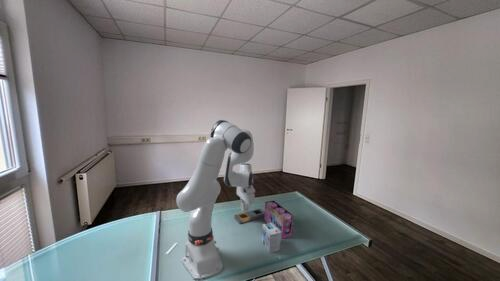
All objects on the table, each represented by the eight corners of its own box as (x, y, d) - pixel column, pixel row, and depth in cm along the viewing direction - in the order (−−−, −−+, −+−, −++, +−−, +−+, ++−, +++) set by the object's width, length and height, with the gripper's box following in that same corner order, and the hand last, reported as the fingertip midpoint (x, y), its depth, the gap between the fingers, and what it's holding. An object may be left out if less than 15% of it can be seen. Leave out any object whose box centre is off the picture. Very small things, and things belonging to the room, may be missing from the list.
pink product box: (293, 237, 119) (295, 216, 117) (283, 240, 115) (284, 219, 114) (273, 218, 140) (274, 200, 138) (263, 220, 137) (264, 202, 135)
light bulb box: (261, 241, 114) (261, 223, 113) (271, 238, 116) (272, 222, 115) (269, 253, 104) (270, 234, 103) (280, 250, 106) (281, 232, 105)
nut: (248, 210, 134) (248, 202, 133) (243, 212, 132) (243, 203, 131) (245, 208, 137) (245, 200, 137) (240, 209, 135) (240, 201, 135)
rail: (266, 216, 141) (266, 212, 141) (239, 224, 130) (239, 220, 130) (260, 212, 148) (260, 208, 148) (234, 219, 137) (234, 214, 137)
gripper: (234, 182, 140) (234, 200, 142) (248, 192, 122) (247, 213, 124) (242, 181, 143) (241, 198, 145) (256, 190, 125) (255, 211, 127)
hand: (244, 205), depth 134 cm, fingers closed on nut, 4 cm apart
